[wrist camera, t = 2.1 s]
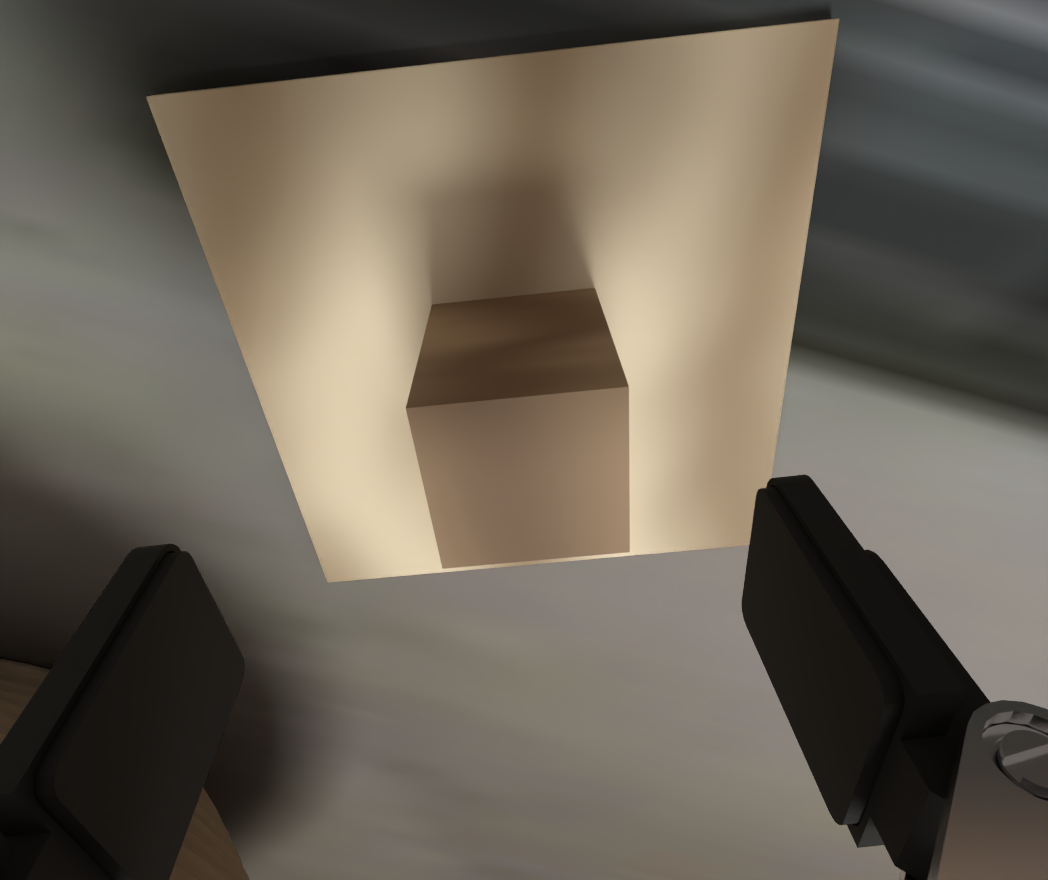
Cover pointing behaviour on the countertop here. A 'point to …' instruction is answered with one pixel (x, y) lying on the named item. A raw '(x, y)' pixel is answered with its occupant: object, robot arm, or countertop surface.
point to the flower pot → (207, 850)
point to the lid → (517, 289)
